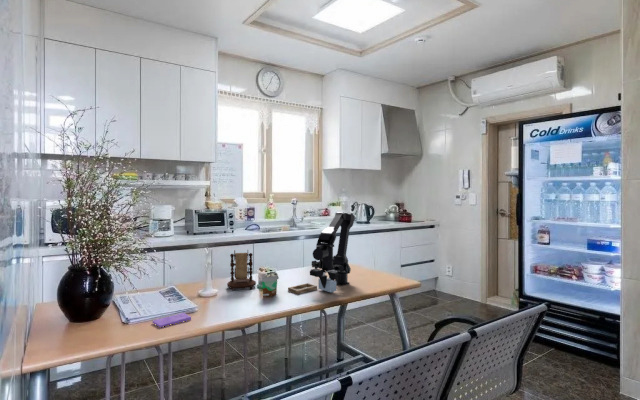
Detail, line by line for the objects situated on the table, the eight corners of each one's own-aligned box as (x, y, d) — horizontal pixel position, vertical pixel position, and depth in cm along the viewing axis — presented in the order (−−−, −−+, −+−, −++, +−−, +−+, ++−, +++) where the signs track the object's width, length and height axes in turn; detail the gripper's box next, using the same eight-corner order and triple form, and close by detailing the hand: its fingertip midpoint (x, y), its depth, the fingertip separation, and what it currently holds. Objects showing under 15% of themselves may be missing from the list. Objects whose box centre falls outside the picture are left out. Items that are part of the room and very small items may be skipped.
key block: (324, 287, 192) (324, 276, 192) (336, 290, 186) (336, 279, 185) (318, 288, 190) (318, 277, 190) (330, 292, 183) (330, 280, 183)
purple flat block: (191, 321, 148) (191, 316, 148) (159, 329, 140) (159, 325, 140) (183, 316, 154) (183, 312, 153) (152, 324, 145) (152, 320, 145)
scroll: (226, 292, 186) (226, 252, 185) (227, 284, 201) (227, 247, 200) (256, 290, 189) (256, 251, 188) (255, 283, 204) (255, 247, 203)
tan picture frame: (307, 286, 197) (307, 283, 197) (317, 289, 192) (316, 286, 191) (288, 291, 189) (288, 287, 189) (297, 294, 183) (297, 290, 183)
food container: (274, 298, 176) (274, 278, 175) (261, 298, 177) (261, 277, 177) (281, 291, 188) (281, 271, 188) (270, 290, 189) (270, 271, 189)
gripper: (330, 252, 199) (329, 280, 200) (302, 256, 187) (302, 287, 188) (344, 255, 191) (344, 285, 192) (317, 260, 179) (317, 292, 179)
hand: (327, 287), depth 188 cm, fingers closed on key block, 4 cm apart
